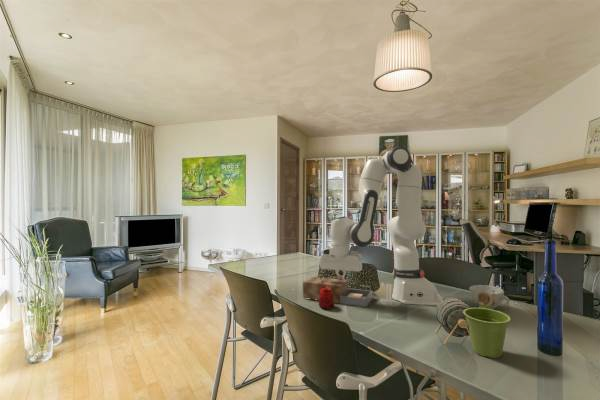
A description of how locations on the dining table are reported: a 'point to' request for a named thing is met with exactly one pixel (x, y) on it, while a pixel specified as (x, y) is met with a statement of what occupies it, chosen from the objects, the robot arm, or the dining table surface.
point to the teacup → (488, 290)
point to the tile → (355, 295)
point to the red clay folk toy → (326, 297)
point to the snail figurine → (485, 300)
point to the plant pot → (487, 330)
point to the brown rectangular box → (315, 285)
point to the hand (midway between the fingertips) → (341, 279)
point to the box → (356, 301)
